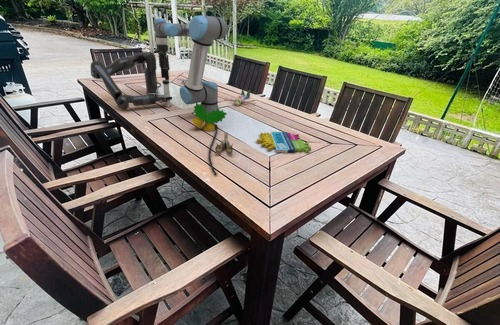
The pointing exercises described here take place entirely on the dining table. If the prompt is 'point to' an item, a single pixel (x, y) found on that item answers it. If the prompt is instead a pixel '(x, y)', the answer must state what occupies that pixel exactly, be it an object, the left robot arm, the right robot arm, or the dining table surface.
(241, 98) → the toy
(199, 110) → the ornament
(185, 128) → the dining table surface
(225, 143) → the jawbone
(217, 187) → the dining table surface
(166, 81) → the lid
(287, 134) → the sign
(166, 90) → the bottle
